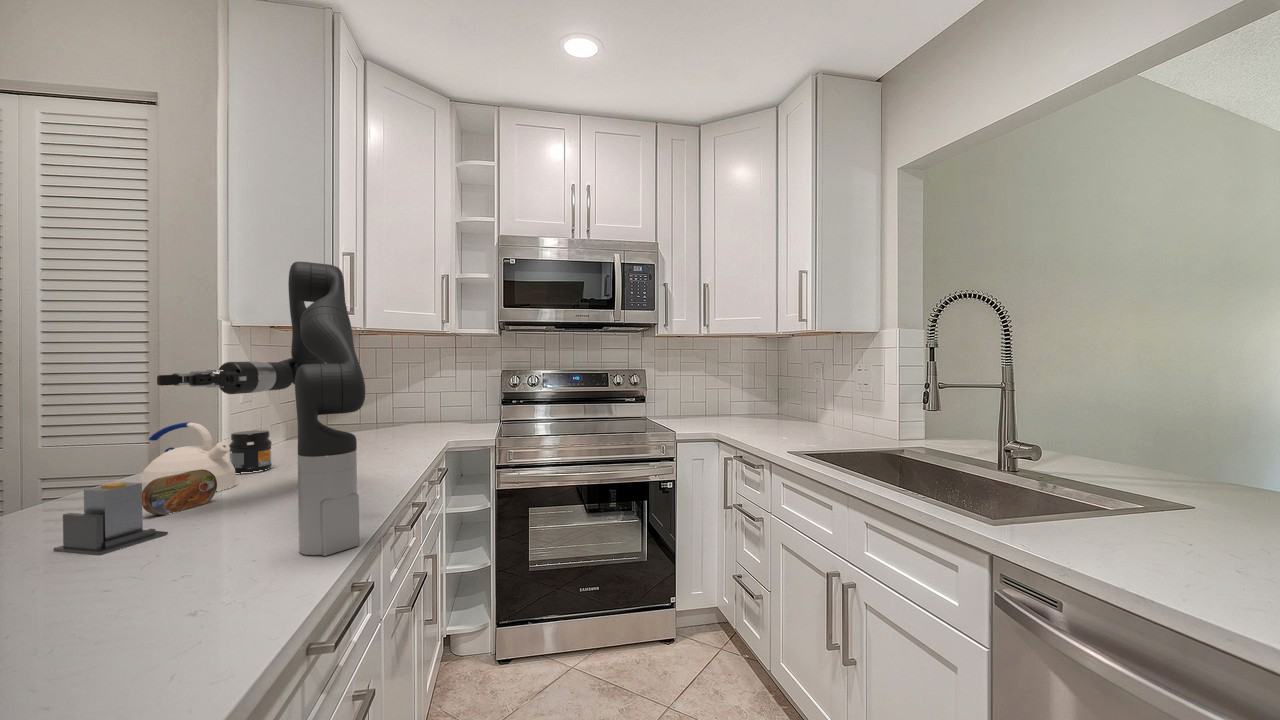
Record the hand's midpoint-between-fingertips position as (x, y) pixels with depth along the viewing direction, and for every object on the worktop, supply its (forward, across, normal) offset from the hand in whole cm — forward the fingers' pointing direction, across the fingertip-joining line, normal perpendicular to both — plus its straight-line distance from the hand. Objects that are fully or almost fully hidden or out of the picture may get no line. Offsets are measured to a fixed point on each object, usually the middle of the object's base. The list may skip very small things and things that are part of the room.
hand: (174, 380), depth 110 cm
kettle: (-24, -28, +30) cm, 47 cm away
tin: (-9, -11, +30) cm, 33 cm away
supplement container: (-46, -34, +30) cm, 64 cm away
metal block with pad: (+11, 0, +30) cm, 31 cm away
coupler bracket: (+11, 0, +30) cm, 32 cm away
